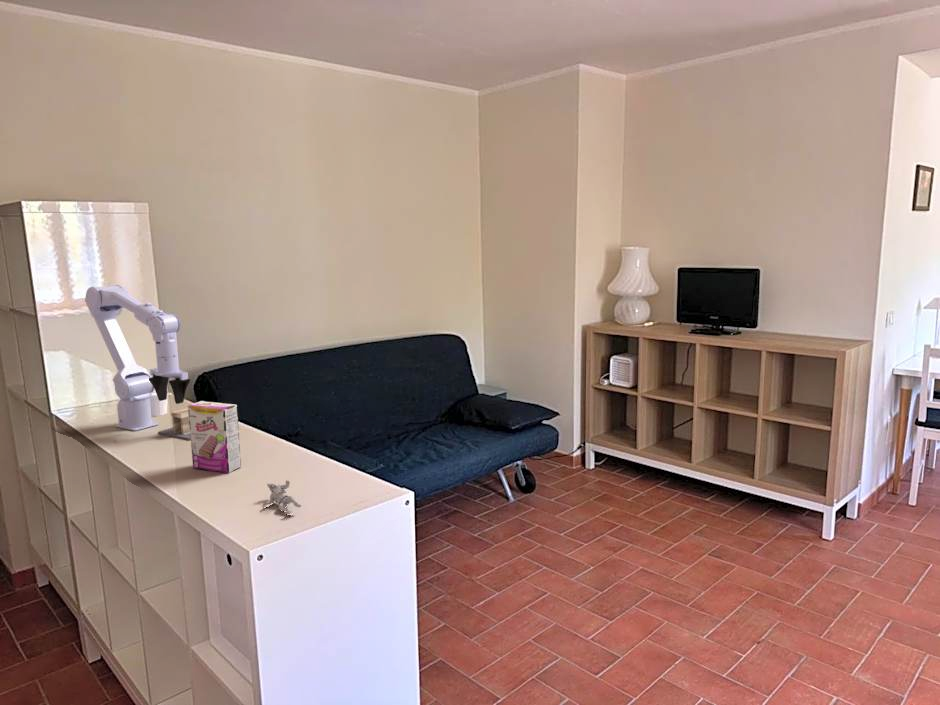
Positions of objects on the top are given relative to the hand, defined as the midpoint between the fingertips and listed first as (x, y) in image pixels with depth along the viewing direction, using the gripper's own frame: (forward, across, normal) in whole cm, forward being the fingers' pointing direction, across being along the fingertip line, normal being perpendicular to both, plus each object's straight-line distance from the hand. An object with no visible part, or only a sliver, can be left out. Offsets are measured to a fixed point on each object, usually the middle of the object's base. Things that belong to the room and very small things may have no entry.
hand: (171, 401), depth 190 cm
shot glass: (+10, -23, +11) cm, 27 cm away
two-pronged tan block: (+9, +4, +2) cm, 10 cm away
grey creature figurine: (+10, +69, -25) cm, 74 cm away
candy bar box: (+10, +37, -15) cm, 41 cm away
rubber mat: (+9, +4, +2) cm, 10 cm away
